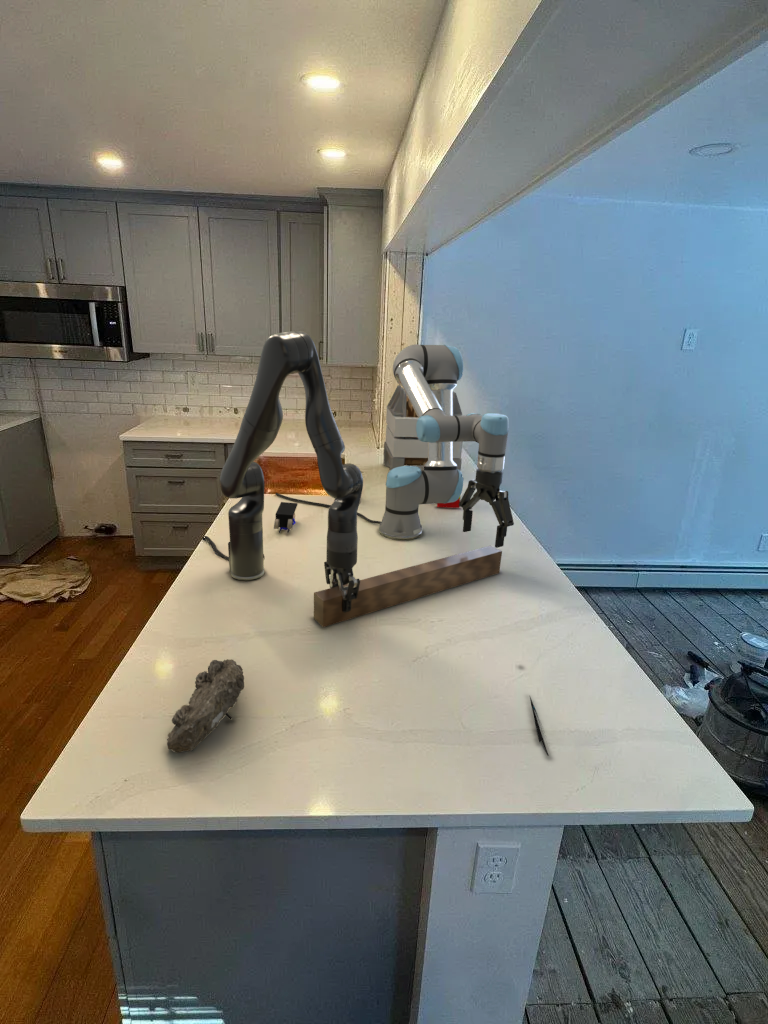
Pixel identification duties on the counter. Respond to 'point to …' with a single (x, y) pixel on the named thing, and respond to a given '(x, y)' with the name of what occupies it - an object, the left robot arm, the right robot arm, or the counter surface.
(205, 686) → the fossil
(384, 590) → the bar
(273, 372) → the left robot arm
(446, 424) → the right robot arm
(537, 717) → the feather
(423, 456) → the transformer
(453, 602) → the counter surface
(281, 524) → the figurine character
